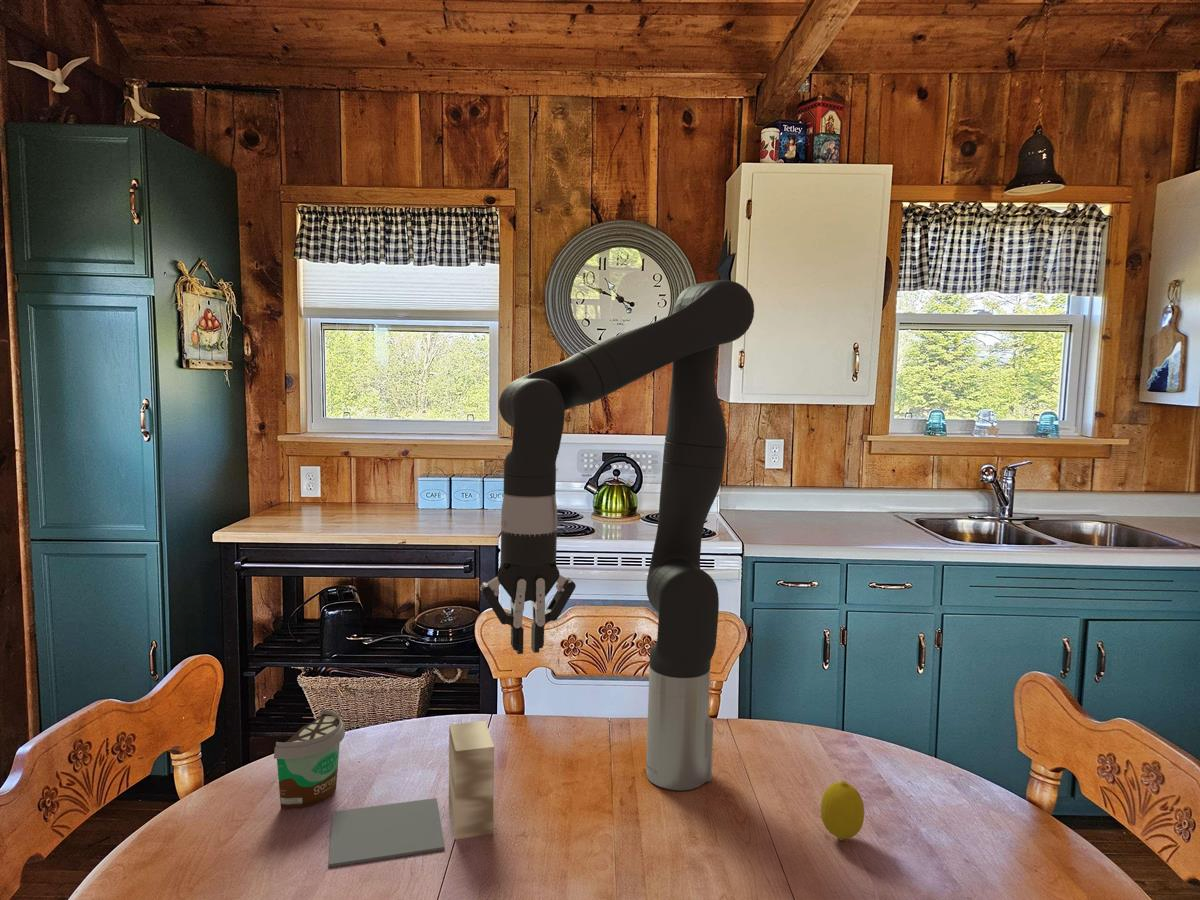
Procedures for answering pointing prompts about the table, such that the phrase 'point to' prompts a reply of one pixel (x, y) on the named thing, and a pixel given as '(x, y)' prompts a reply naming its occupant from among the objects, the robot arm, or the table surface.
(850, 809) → the lemon
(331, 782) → the food container
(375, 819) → the mat
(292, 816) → the table surface
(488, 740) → the ash block
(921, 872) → the table surface
